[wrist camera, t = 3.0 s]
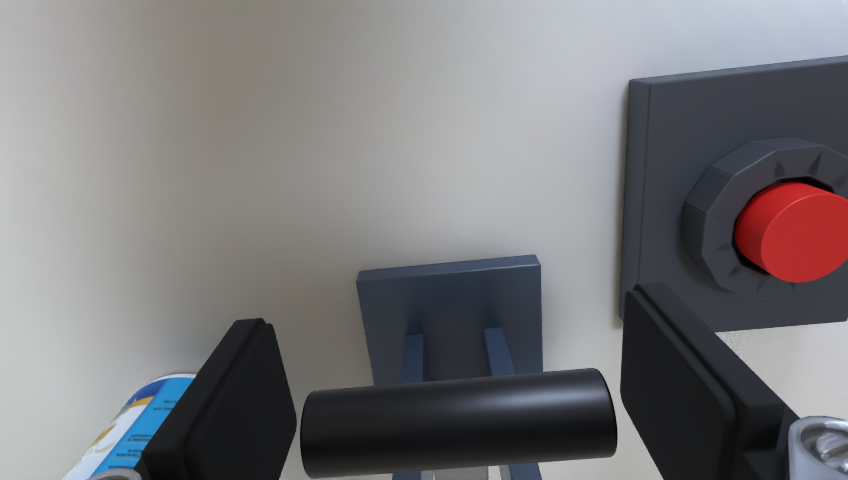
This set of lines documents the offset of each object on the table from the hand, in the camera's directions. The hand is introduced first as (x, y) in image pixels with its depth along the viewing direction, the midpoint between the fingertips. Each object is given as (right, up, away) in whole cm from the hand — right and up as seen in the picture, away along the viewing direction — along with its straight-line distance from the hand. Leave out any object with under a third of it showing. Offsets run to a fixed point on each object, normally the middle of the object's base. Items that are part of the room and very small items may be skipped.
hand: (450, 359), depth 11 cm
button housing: (+14, +5, +12) cm, 19 cm away
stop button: (+14, +3, +9) cm, 17 cm away
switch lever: (0, -3, +3) cm, 4 cm away
